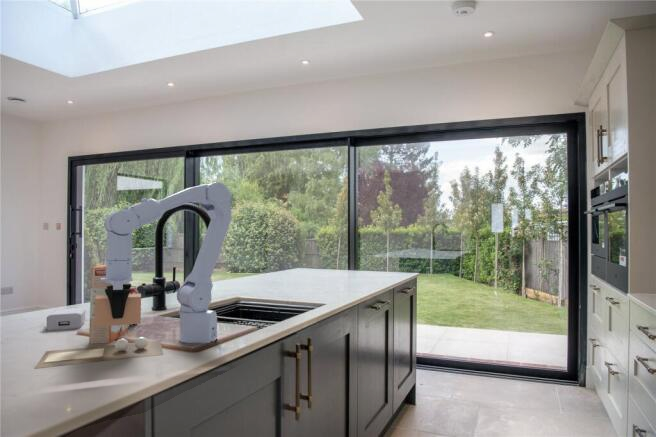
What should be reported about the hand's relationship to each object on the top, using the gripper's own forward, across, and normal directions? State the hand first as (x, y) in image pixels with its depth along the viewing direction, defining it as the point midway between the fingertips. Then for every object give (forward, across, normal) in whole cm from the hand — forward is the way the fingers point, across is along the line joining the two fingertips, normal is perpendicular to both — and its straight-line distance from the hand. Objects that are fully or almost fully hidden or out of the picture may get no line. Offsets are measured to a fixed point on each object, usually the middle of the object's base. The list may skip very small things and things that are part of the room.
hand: (118, 315), depth 107 cm
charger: (+10, -44, -16) cm, 48 cm away
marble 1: (+7, 0, +1) cm, 7 cm away
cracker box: (+10, -17, -2) cm, 20 cm away
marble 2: (+7, 0, +5) cm, 9 cm away
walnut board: (+10, 0, -3) cm, 10 cm away
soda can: (+10, -36, +2) cm, 37 cm away
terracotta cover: (+2, 0, 0) cm, 2 cm away
